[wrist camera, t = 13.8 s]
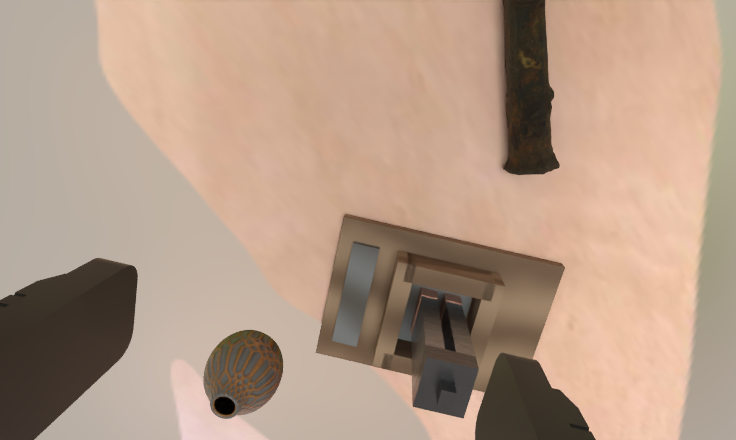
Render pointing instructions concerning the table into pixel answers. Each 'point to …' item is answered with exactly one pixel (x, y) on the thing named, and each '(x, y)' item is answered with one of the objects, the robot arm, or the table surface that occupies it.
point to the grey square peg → (441, 355)
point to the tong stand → (435, 272)
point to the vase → (242, 373)
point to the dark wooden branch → (528, 89)
